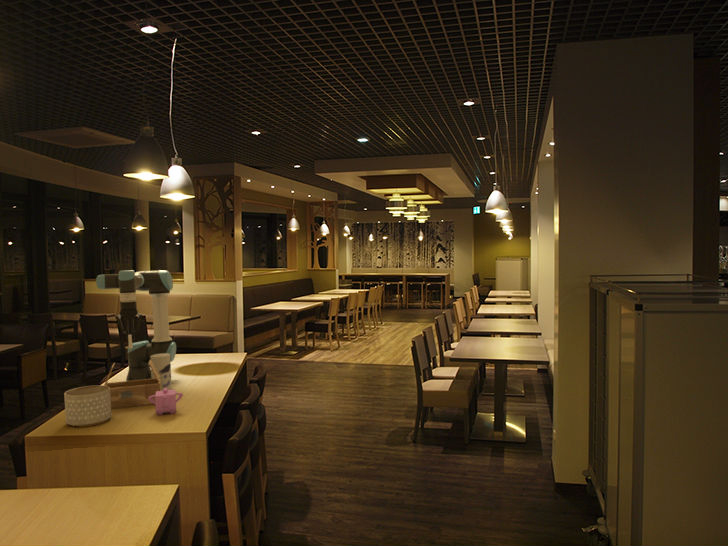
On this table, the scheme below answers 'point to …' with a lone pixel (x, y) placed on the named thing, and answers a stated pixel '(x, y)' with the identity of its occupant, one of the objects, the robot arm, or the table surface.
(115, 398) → the carton
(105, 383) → the flap
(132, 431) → the table surface
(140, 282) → the robot arm
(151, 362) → the flap
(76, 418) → the planter
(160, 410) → the teapot
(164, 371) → the container
